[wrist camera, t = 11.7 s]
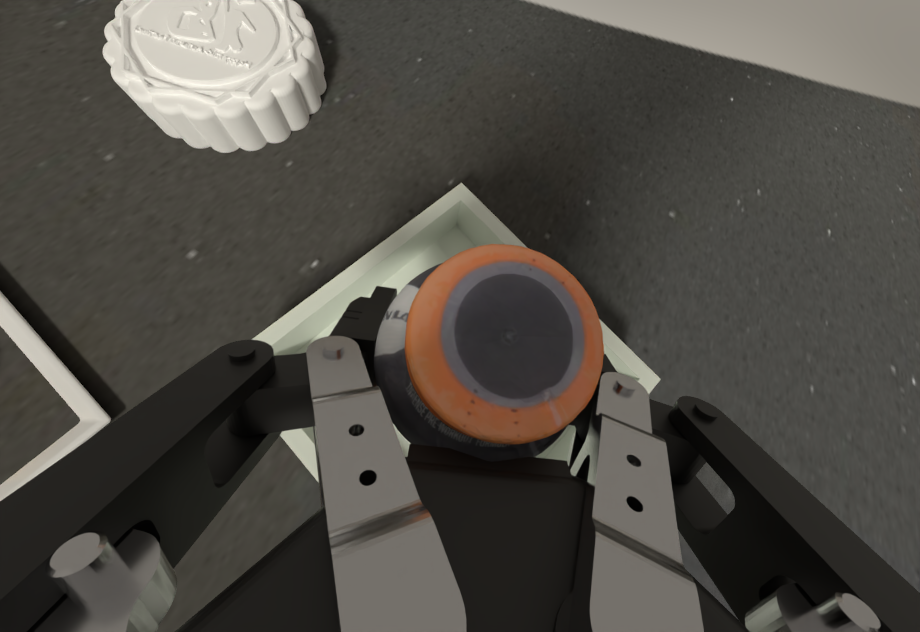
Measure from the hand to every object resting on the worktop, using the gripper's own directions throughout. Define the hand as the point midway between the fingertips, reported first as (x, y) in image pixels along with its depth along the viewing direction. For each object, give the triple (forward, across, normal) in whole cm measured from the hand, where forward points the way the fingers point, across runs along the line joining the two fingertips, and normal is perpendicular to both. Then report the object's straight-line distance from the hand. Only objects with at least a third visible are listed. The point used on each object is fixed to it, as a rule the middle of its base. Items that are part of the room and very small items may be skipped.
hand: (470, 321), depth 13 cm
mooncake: (+17, +17, -6) cm, 25 cm away
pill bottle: (+3, 0, +5) cm, 6 cm away
